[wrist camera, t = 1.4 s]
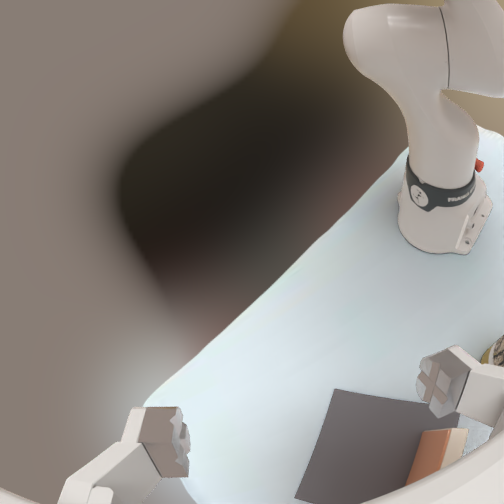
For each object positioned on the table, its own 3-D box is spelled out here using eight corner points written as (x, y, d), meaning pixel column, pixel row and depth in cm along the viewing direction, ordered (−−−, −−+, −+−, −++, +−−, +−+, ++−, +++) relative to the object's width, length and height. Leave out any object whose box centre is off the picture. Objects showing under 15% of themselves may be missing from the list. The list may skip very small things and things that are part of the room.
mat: (460, 406, 30) (461, 406, 30) (424, 519, 22) (424, 520, 22) (334, 389, 40) (334, 388, 39) (294, 497, 31) (294, 498, 31)
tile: (437, 431, 30) (469, 428, 19) (415, 495, 25) (438, 519, 14) (422, 430, 31) (449, 427, 20) (401, 494, 26) (417, 519, 15)
